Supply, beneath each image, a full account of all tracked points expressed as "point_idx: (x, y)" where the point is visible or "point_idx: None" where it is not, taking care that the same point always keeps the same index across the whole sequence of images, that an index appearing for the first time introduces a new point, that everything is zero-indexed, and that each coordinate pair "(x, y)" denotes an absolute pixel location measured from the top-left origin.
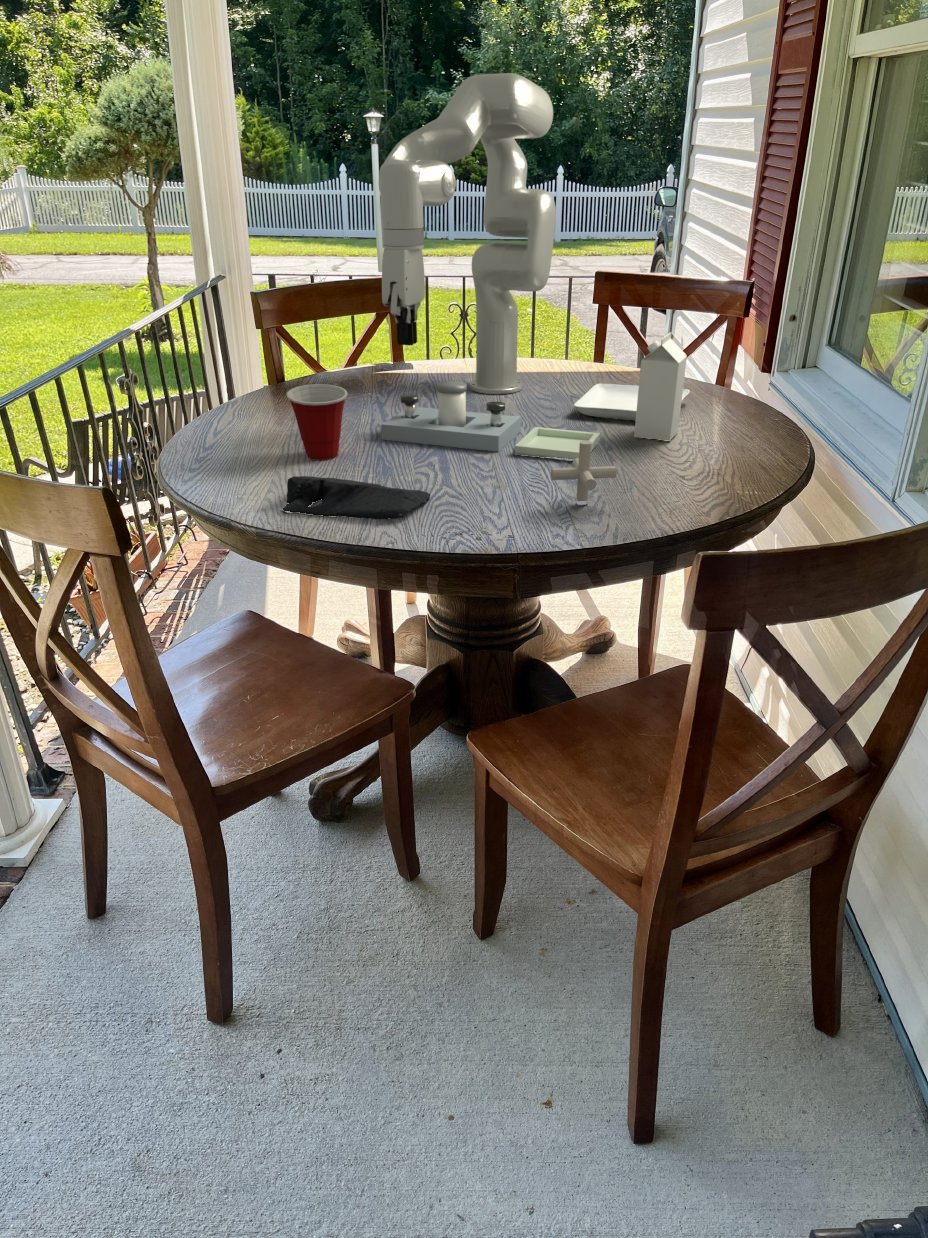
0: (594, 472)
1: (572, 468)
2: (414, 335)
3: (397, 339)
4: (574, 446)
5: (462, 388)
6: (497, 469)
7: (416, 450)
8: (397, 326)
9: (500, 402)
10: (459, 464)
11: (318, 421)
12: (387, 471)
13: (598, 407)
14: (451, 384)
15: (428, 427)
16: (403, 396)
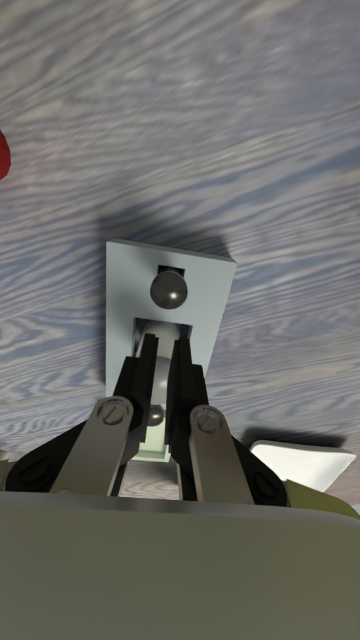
0: None
1: None
2: (166, 400)
3: (143, 340)
4: (140, 443)
5: None
6: (53, 396)
7: (80, 304)
8: (133, 380)
9: (159, 421)
10: (50, 362)
11: None
12: None
13: (282, 449)
14: (157, 384)
15: (114, 322)
16: (164, 280)
